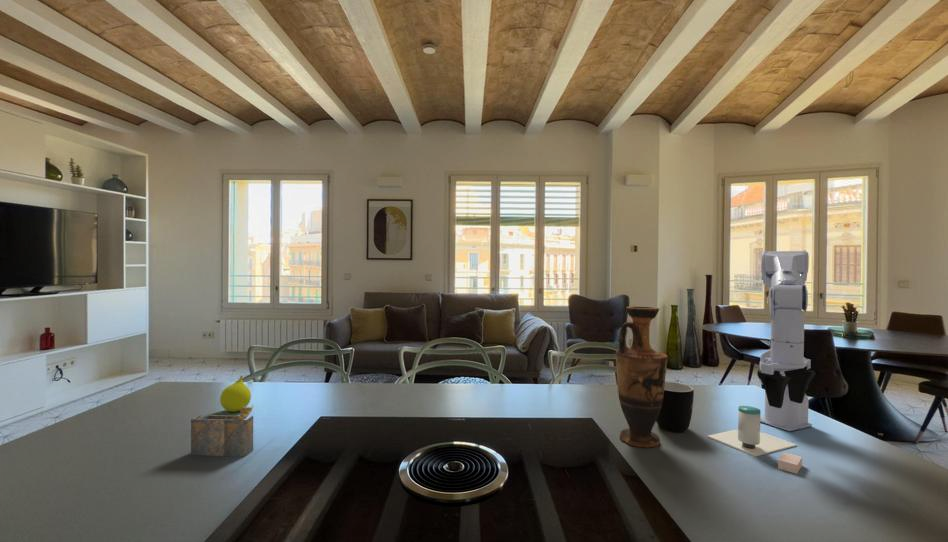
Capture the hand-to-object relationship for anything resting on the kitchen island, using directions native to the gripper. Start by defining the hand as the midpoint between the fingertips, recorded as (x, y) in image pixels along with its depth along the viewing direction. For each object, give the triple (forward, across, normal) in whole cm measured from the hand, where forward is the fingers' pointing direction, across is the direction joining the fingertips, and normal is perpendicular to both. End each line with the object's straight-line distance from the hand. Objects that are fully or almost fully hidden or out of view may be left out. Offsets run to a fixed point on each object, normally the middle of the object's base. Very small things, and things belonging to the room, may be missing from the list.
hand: (785, 404), depth 91 cm
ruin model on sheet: (+11, +108, -48) cm, 119 cm away
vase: (+10, +24, -17) cm, 31 cm away
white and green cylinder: (+10, +6, -4) cm, 12 cm away
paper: (+10, +2, -6) cm, 12 cm away
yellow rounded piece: (+10, +108, -75) cm, 131 cm away
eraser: (+10, +7, +5) cm, 13 cm away
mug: (+10, +10, -20) cm, 25 cm away
